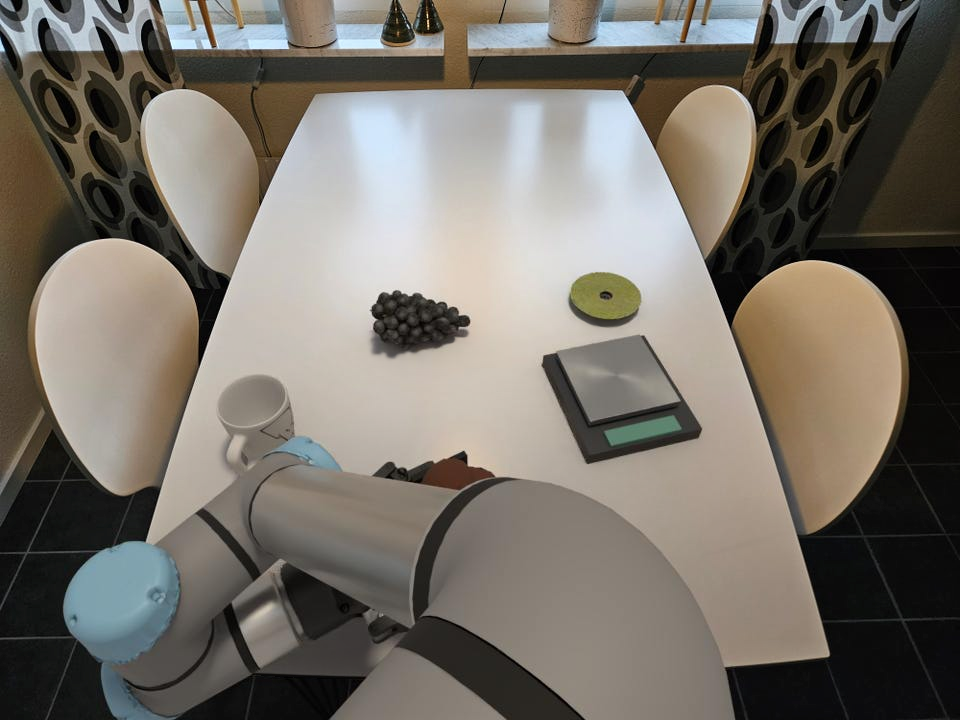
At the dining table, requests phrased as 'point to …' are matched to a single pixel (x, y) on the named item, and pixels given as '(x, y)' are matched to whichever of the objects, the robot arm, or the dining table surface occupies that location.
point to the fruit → (414, 319)
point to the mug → (254, 418)
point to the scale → (622, 421)
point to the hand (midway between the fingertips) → (493, 500)
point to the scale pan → (616, 379)
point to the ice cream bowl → (454, 474)
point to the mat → (605, 295)
